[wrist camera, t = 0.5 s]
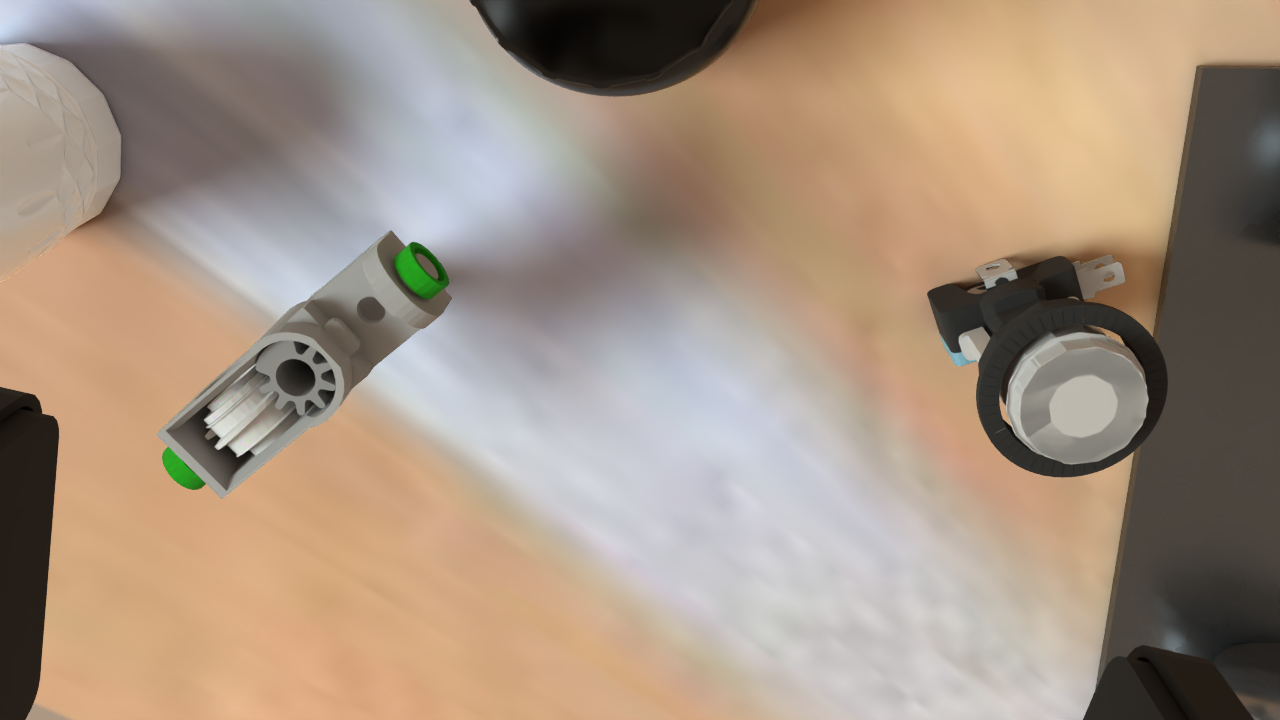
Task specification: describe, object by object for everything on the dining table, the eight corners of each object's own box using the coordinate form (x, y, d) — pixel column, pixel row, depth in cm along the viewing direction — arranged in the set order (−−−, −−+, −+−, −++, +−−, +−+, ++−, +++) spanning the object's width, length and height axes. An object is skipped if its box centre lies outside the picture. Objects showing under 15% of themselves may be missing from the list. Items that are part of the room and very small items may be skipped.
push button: (1091, 192, 42) (1206, 272, 32) (1127, 329, 43) (1247, 443, 34) (904, 257, 43) (964, 354, 33) (947, 388, 44) (1014, 515, 35)
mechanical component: (509, 226, 43) (458, 314, 34) (306, 393, 45) (206, 517, 36) (452, 162, 42) (385, 233, 33) (250, 335, 45) (133, 447, 35)
